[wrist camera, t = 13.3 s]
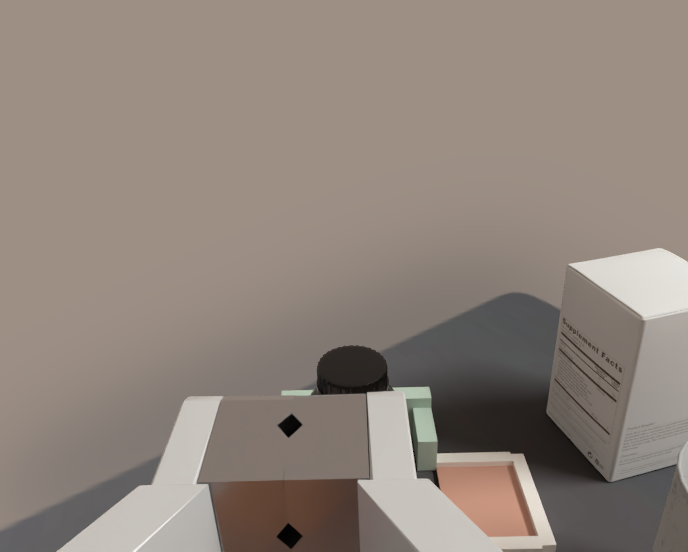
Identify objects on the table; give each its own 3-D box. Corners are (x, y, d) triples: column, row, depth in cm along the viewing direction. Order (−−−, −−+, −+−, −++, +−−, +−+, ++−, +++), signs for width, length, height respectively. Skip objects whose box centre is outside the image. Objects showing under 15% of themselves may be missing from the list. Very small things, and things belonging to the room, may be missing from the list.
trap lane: (636, 779, 29) (652, 735, 27) (98, 787, 30) (79, 745, 28) (507, 421, 52) (512, 384, 51) (206, 429, 53) (200, 393, 51)
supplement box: (629, 391, 55) (662, 244, 49) (705, 459, 48) (757, 295, 41) (541, 411, 53) (563, 260, 47) (606, 485, 46) (644, 317, 39)
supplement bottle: (296, 481, 47) (284, 355, 42) (368, 447, 50) (366, 325, 45) (341, 544, 42) (334, 409, 36) (419, 501, 45) (423, 371, 39)
